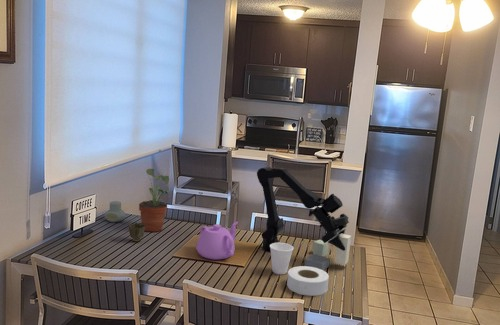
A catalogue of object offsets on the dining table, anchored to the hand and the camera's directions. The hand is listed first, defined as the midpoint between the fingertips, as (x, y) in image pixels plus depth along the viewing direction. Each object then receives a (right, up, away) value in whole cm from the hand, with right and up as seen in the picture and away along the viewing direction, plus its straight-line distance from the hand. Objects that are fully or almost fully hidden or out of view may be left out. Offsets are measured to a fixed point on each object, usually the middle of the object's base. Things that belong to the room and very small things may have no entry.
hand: (346, 248), depth 193 cm
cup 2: (-30, -8, -8) cm, 32 cm away
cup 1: (-95, 0, +16) cm, 96 cm away
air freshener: (-114, +6, +45) cm, 123 cm away
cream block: (-2, -6, +2) cm, 7 cm away
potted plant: (-91, +3, +35) cm, 98 cm away
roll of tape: (-20, -11, -20) cm, 31 cm away
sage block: (-9, -6, +16) cm, 19 cm away
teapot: (-56, -4, +8) cm, 56 cm away
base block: (-13, -8, 0) cm, 15 cm away
